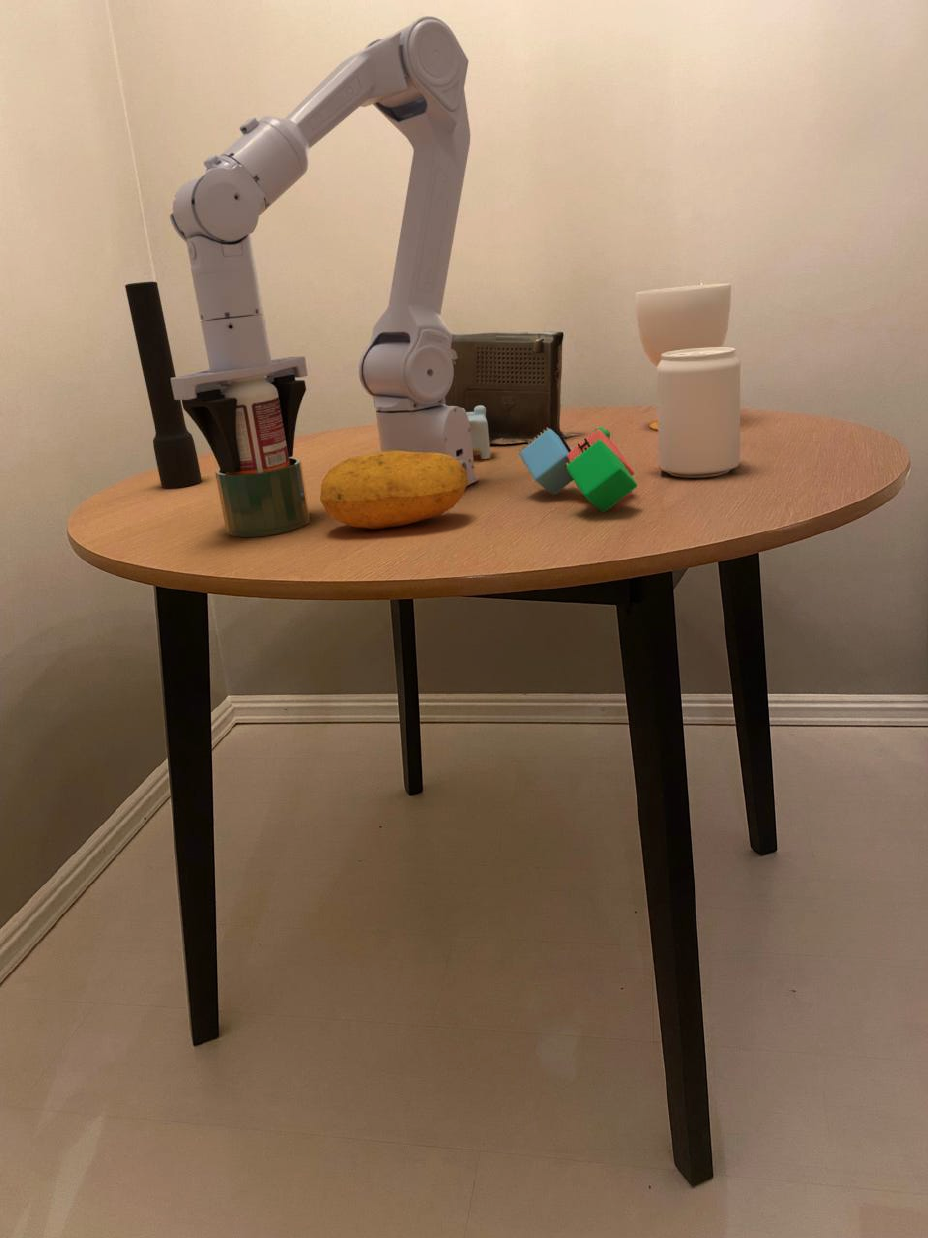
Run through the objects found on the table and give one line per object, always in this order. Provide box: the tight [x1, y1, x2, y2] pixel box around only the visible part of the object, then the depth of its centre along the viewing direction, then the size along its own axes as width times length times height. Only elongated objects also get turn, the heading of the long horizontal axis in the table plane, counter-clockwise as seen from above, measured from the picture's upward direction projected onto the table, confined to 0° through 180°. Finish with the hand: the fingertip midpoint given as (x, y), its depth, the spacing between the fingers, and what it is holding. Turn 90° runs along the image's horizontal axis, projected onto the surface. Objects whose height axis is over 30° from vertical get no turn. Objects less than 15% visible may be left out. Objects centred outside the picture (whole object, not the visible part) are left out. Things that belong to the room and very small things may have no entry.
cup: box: [634, 283, 732, 431], centre depth 121 cm, size 12×12×17 cm
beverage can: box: [656, 346, 741, 479], centre depth 95 cm, size 8×8×12 cm
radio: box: [445, 330, 579, 445], centre depth 124 cm, size 23×9×15 cm, turn 60°
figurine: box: [462, 406, 491, 460], centre depth 116 cm, size 4×8×6 cm, turn 4°
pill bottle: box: [220, 374, 290, 475], centre depth 89 cm, size 6×6×11 cm
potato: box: [319, 450, 468, 530], centre depth 87 cm, size 8×14×7 cm, turn 89°
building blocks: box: [518, 426, 638, 513], centre depth 89 cm, size 8×8×12 cm
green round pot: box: [214, 456, 311, 538], centre depth 92 cm, size 8×8×6 cm
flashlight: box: [124, 281, 203, 489], centre depth 115 cm, size 5×24×5 cm
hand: (258, 463), depth 91 cm, fingers closed on pill bottle, 6 cm apart
